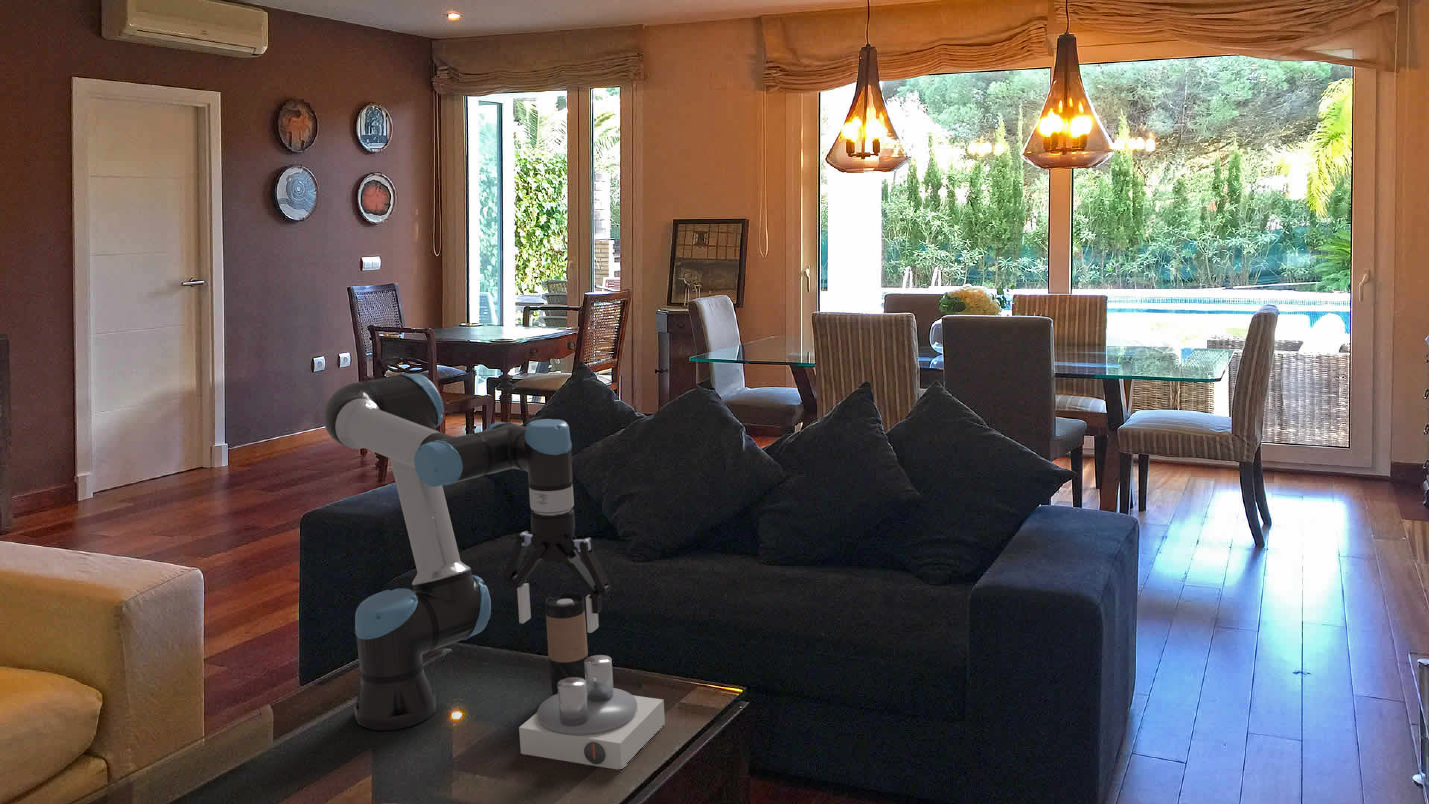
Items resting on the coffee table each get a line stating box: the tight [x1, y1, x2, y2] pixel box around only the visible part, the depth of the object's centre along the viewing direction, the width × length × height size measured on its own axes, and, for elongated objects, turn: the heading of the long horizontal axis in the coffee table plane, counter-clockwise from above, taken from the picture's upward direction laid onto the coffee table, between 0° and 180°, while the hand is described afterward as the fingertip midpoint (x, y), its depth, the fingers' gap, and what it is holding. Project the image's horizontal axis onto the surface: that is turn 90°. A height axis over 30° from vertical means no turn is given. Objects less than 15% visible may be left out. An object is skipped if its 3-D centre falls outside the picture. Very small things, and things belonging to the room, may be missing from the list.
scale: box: [518, 687, 666, 771], centre depth 219 cm, size 20×18×6 cm
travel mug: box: [544, 592, 589, 696], centre depth 237 cm, size 8×8×20 cm
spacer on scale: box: [584, 654, 614, 702], centre depth 223 cm, size 5×5×7 cm
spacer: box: [557, 677, 588, 727], centre depth 214 cm, size 5×5×7 cm
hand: (558, 625), depth 213 cm, fingers open, 13 cm apart
